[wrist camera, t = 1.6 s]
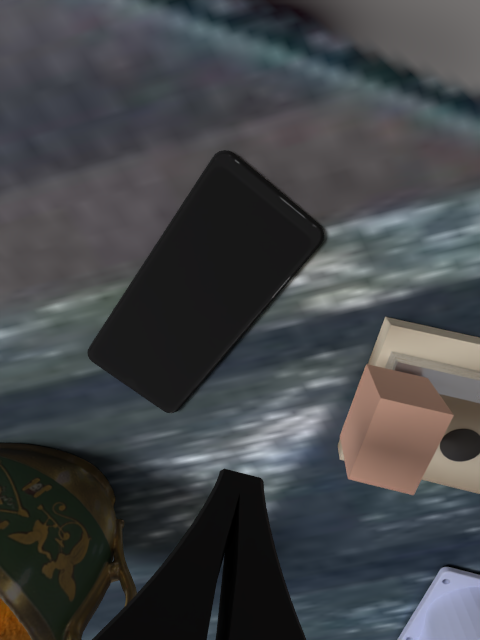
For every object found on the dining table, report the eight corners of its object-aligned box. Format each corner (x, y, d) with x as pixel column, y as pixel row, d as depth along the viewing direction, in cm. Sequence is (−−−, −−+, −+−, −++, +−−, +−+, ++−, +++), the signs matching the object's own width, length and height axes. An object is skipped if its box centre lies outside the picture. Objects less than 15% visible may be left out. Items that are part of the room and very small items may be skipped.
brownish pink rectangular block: (388, 438, 20) (411, 499, 16) (335, 425, 20) (346, 482, 16) (419, 366, 18) (454, 415, 14) (361, 353, 19) (380, 398, 15)
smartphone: (330, 234, 18) (171, 418, 23) (329, 232, 19) (175, 411, 24) (220, 142, 17) (81, 356, 22) (223, 144, 18) (88, 350, 23)
